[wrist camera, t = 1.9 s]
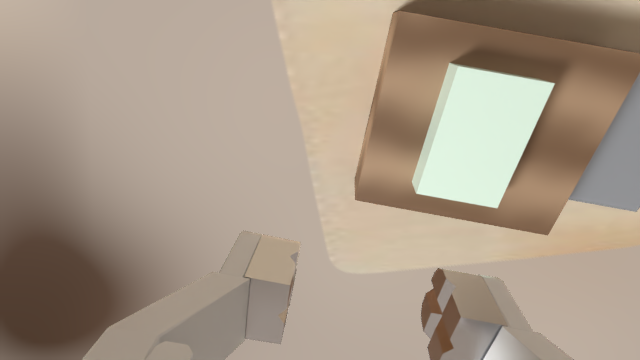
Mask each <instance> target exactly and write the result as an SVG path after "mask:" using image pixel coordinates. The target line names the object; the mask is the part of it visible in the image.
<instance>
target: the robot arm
mask: <svg viewBox="0 0 640 360" xmlns="http://www.w3.org/2000/svg"><path fill="white" fill-rule="evenodd" d="M300 244H301V243H300V242H297V241H292V240H287V239H282V238H278V237H273V236H268V235H264V234H263V235H262V234H258V233H253V232H248V231H243V232H241V233H240V234H239V236H238V238H237V240H236V242H235V244H234V246H233V247H232V249H231V251H230V253H229V255H228V257H227V259H226V261H225V262H224V264H223V266H222V268H221V270H220V272H219V273H217V272H211V273H209V274H208V275H206V276H204V277H202V278H200V279H198V280H196V281H194V282H193V283H191V284H189V285H187V286H185V287H183V288H181V289H179V290H178V291H176V292H174V293H172V294H170V295H168V296H166V297H164V298H163V299H161V300H159V301H157V302H155V303H153V304H151V305H149V306H148V307H146V308H144V309H142V310H140V311H138V312H136V313H135V314H133V315H131V316H129V317H127V318H125V319H123V320H121V321H119V322H118V323H116V324H114V325H112V326H110V327H108V328H107V329H106V331H105V332H104V333H103V334H102V336H101V337H100V338H99V339H98V340H97V342H96V343H95V344H94V345H93V347H92V348H91V349H90V350H89V352H88V353H87V354H86V355H85V356H84V358H83V359H82V360H225V359H226V358H227V357H228V356H229V355H230V354H231V353H232V352H233V351H234V350H235V349H236V348H237V347H238V346H239V345H241V344H242V343H243V342H244V339H251V340H258V341H263V342H270V343H277V344H281V341H282V337H283V332H284V327H285V323H286V318H287V313H288V307H289V305H290V300H291V296H292V291H293V286H294V280H295V274H296V266H297V262H298V257H299V251H300ZM431 281H432V284H433V287H434V288H433V289H432V290H430V291H429V292H427V293H426V294H425V297H424V300H423V303H422V310H421V322H422V327H423V331H424V332H425V333H426V335H427V336H428V337H429V338H430V339H431V340H430V342H429V344H428V347H427V348H428V352H429V356H430V360H574V359H572V358H571V357H570V356H569V355H567V354H566V353H565V352H564V351H562V350H561V349H560V348H558V347H557V346H556V345H555V344H553V343H552V342H551V341H550V340H548V339H547V338H546V337H545V336H543V335H542V334H541V333H538V332H533V330H532V329H531V327H530V325H529V324H528V322H527V320H526V319H525V317H524V315H523V314H522V312H521V310H520V309H519V307H518V305H517V304H516V302H515V300H514V299H513V297H512V295H511V294H510V292H509V290H508V289H507V287H506V285H505V284H504V282H503V281H502V280H501V279H499V278H496V277H490V276H483V275H473V274H467V273H462V272H456V271H451V270H446V269H440V268H438V269H437V270H436V271H435V272H434V275H433V277H432V280H431Z"/></svg>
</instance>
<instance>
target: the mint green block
mask: <svg viewBox="0 0 640 360" xmlns="http://www.w3.org/2000/svg"><path fill="white" fill-rule="evenodd" d="M554 85H555V83H552V82H548V81H545V80H541V79H537V78H532V77H526V76H521V75H515V74H509V73H504V72H498V71H493V70H487V69H482V68H476V67H470V66H465V65H459V64H454V63H449V66H448V69H447V72H446V75H445V78H444V81H443V85H442V88H441V91H440V94H439V97H438V100H437V104H436V107H435V110H434V113H433V116H432V119H431V123H430V126H429V129H428V132H427V135H426V138H425V142H424V145H423V148H422V151H421V154H420V157H419V160H418V164H417V167H416V170H415V173H414V176H413V179H412V184H413V186H414V189H415V192H416V194H421V195H427V196H432V197H438V198H443V199H449V200H454V201H459V202H465V203H470V204H476V205H481V206H487V207H492V208H498V206H499V204H500V201H501V199H502V197H503V195H504V193H505V191H506V188H507V186H508V184H509V182H510V180H511V178H512V175H513V173H514V171H515V169H516V167H517V165H518V162H519V160H520V158H521V156H522V154H523V152H524V149H525V147H526V145H527V143H528V141H529V139H530V136H531V134H532V132H533V130H534V128H535V126H536V123H537V121H538V119H539V117H540V115H541V113H542V110H543V108H544V106H545V104H546V102H547V100H548V98H549V95H550V93H551V91H552V89H553V87H554Z"/></svg>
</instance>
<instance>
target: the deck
mask: <svg viewBox="0 0 640 360" xmlns="http://www.w3.org/2000/svg"><path fill="white" fill-rule="evenodd" d="M449 63H454V64H459V65H465V66H470V67H476V68H482V69H487V70H493V71H498V72H504V73H509V74H515V75H521V76H526V77H532V78H537V79H541V80H545V81H548V82H552V83H555V85H554V87H553V89H552V91H551V93H550V95H549V98H548V100H547V102H546V104H545V106H544V108H543V110H542V113H541V115H540V117H539V119H538V121H537V123H536V126H535V128H534V130H533V132H532V134H531V136H530V139H529V141H528V143H527V145H526V147H525V149H524V152H523V154H522V156H521V158H520V160H519V162H518V165H517V167H516V169H515V171H514V173H513V175H512V178H511V180H510V182H509V184H508V186H507V188H506V191H505V193H504V195H503V197H502V199H501V201H500V204H499V206H498V208H492V207H487V206H481V205H476V204H470V203H465V202H459V201H454V200H449V199H443V198H438V197H432V196H427V195H421V194H416V192H415V189H414V186H413V184H412V179H413V176H414V173H415V170H416V167H417V164H418V160H419V157H420V154H421V151H422V148H423V145H424V142H425V138H426V135H427V132H428V129H429V126H430V123H431V119H432V116H433V113H434V110H435V107H436V104H437V100H438V97H439V94H440V91H441V88H442V85H443V81H444V78H445V75H446V72H447V69H448V66H449ZM639 73H640V53H635V52H629V51H624V50H618V49H613V48H607V47H601V46H596V45H590V44H584V43H579V42H573V41H568V40H562V39H556V38H551V37H545V36H540V35H534V34H528V33H523V32H517V31H512V30H506V29H500V28H495V27H489V26H483V25H478V24H472V23H467V22H461V21H455V20H450V19H444V18H439V17H433V16H427V15H422V14H416V13H411V12H405V11H398V12H394V13H393V15H392V19H391V24H390V28H389V33H388V37H387V41H386V46H385V50H384V54H383V59H382V63H381V67H380V72H379V76H378V80H377V85H376V89H375V93H374V98H373V102H372V106H371V111H370V115H369V119H368V124H367V128H366V132H365V137H364V141H363V145H362V150H361V154H360V158H359V163H358V167H357V172H356V176H355V200H358V201H363V202H369V203H374V204H380V205H385V206H390V207H396V208H401V209H407V210H412V211H418V212H423V213H429V214H434V215H440V216H445V217H451V218H456V219H462V220H467V221H473V222H478V223H483V224H489V225H494V226H500V227H505V228H511V229H516V230H522V231H527V232H533V233H538V234H544V235H548V234H549V232H550V231H551V229H552V227H553V225H554V224H555V222H556V220H557V218H558V216H559V215H560V213H561V211H562V209H563V208H564V206H565V204H566V202H567V201H568V199H569V197H570V195H571V193H572V192H573V190H574V188H575V186H576V185H577V183H578V181H579V179H580V178H581V176H582V174H583V172H584V170H585V169H586V167H587V165H588V163H589V162H590V160H591V158H592V156H593V154H594V153H595V151H596V149H597V147H598V146H599V144H600V142H601V140H602V139H603V137H604V135H605V133H606V131H607V130H608V128H609V126H610V124H611V123H612V121H613V119H614V117H615V116H616V114H617V112H618V110H619V108H620V107H621V105H622V103H623V101H624V100H625V98H626V96H627V94H628V93H629V91H630V89H631V87H632V85H633V84H634V82H635V80H636V78H637V77H638V75H639Z"/></svg>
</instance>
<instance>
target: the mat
mask: <svg viewBox="0 0 640 360" xmlns="http://www.w3.org/2000/svg"><path fill="white" fill-rule="evenodd" d="M568 200H574V201H579V202H585V203H590V204H596V205H601V206H607V207H612V208H618V209H623V210H629V211H634V212H637V210H638V209H639V207H640V73H639V75H638V77H637V78H636V80H635V82H634V84H633V85H632V87H631V89H630V91H629V93H628V94H627V96H626V98H625V100H624V101H623V103H622V105H621V107H620V108H619V110H618V112H617V114H616V116H615V117H614V119H613V121H612V123H611V124H610V126H609V128H608V130H607V131H606V133H605V135H604V137H603V139H602V140H601V142H600V144H599V146H598V147H597V149H596V151H595V153H594V154H593V156H592V158H591V160H590V162H589V163H588V165H587V167H586V169H585V170H584V172H583V174H582V176H581V178H580V179H579V181H578V183H577V185H576V186H575V188H574V190H573V192H572V193H571V195H570V197H569V199H568Z"/></svg>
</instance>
